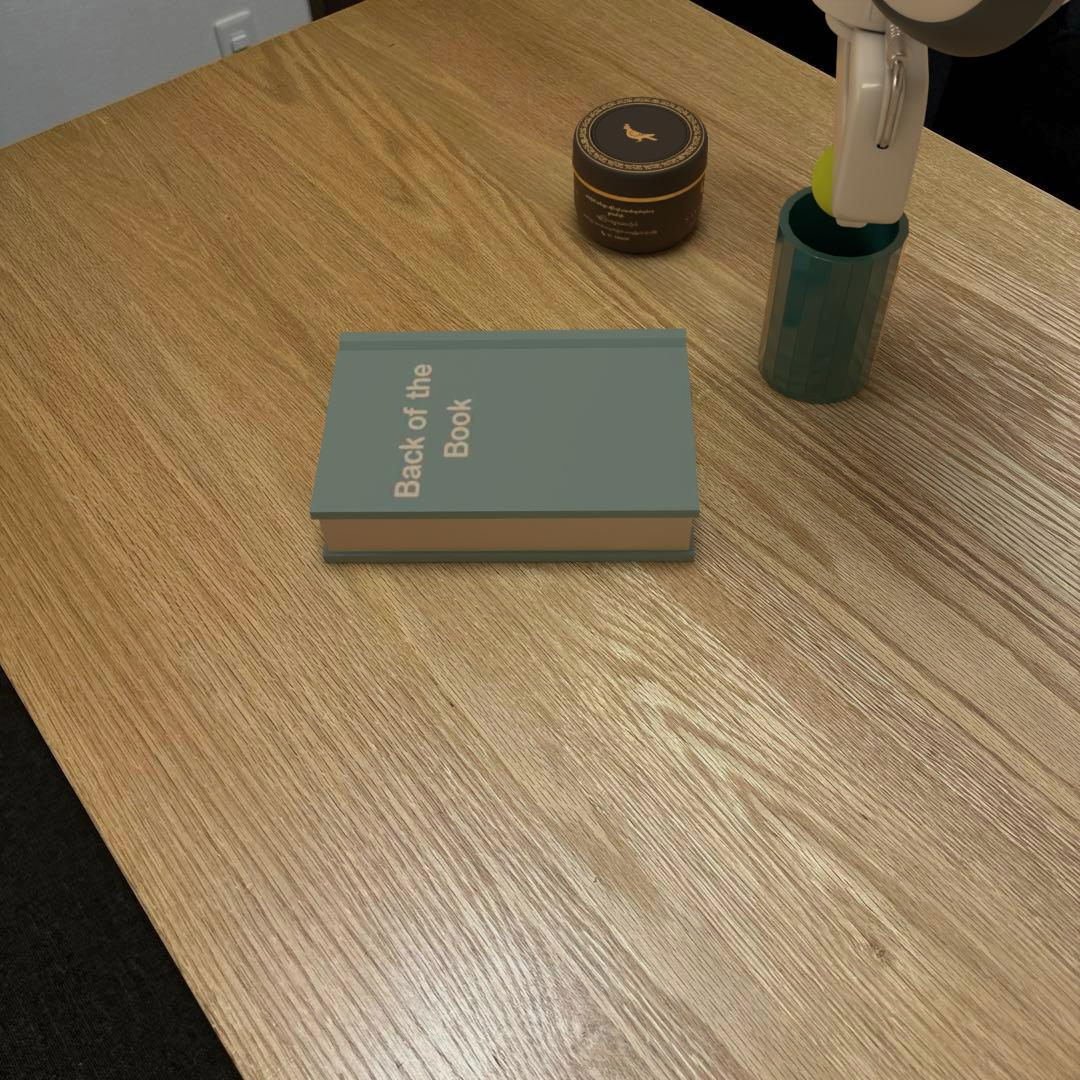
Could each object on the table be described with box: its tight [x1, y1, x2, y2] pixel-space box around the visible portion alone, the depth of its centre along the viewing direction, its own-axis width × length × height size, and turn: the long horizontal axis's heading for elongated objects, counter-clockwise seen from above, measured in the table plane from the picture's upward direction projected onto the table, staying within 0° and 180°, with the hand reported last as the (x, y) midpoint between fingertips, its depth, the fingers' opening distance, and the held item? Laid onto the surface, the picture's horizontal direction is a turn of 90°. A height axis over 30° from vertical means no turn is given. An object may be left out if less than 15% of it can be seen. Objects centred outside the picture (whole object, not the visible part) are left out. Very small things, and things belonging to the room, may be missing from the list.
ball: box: [811, 144, 834, 217], centre depth 70 cm, size 5×5×5 cm
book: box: [309, 327, 701, 564], centre depth 76 cm, size 23×16×5 cm
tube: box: [757, 185, 910, 405], centre depth 78 cm, size 8×8×12 cm
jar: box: [571, 96, 709, 255], centre depth 89 cm, size 10×10×8 cm
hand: (851, 187), depth 71 cm, fingers closed on ball, 5 cm apart
